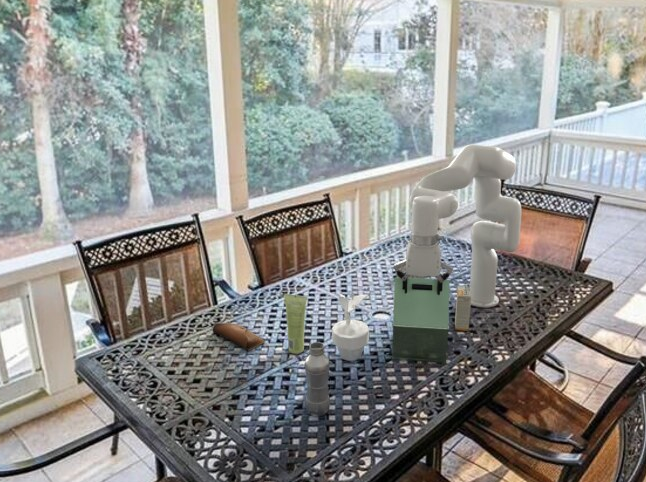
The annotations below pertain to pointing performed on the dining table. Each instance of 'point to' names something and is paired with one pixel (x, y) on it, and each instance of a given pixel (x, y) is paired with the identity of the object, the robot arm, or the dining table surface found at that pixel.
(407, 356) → the green storage bin
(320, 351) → the plastic bottle
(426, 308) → the bin lid
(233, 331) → the sunglasses case
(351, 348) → the potted plant
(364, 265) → the dining table surface
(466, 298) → the supplement box
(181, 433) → the dining table surface
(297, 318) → the tube
